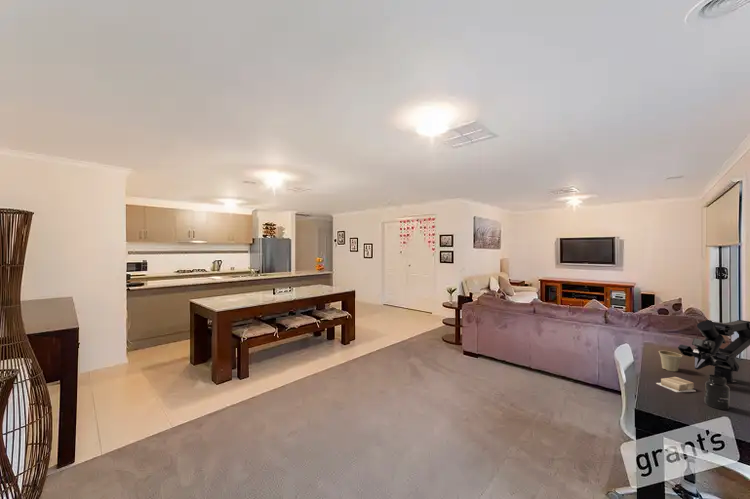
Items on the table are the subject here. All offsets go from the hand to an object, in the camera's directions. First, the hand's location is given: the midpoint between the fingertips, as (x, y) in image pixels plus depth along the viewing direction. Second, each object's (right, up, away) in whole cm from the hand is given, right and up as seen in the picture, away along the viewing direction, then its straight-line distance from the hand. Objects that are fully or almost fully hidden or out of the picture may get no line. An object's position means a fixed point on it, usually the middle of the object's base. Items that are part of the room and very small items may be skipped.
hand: (696, 368), depth 149 cm
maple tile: (-8, -5, -2) cm, 10 cm away
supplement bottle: (-13, -7, -21) cm, 26 cm away
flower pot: (+5, -8, +19) cm, 21 cm away
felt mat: (-14, -7, -4) cm, 16 cm away
